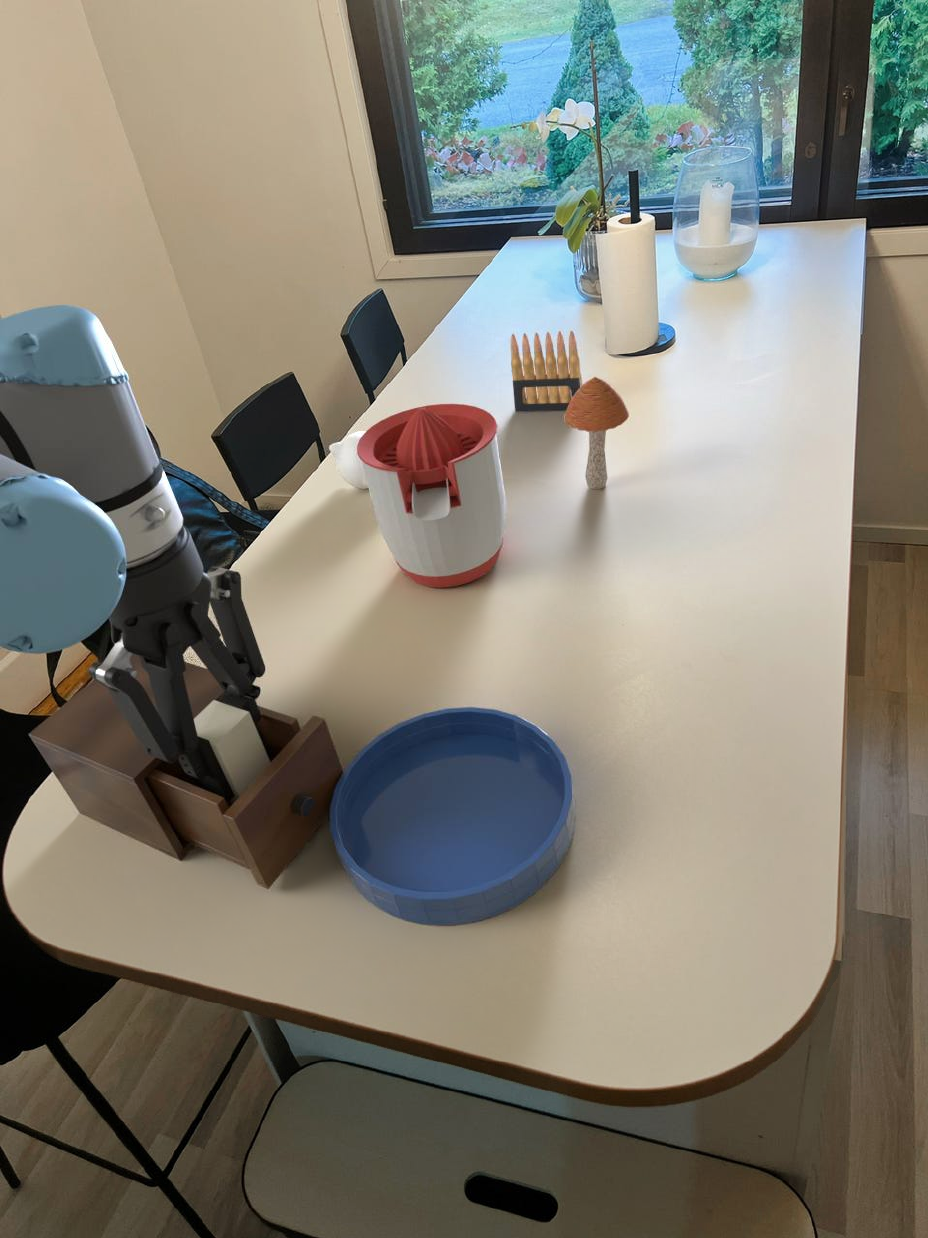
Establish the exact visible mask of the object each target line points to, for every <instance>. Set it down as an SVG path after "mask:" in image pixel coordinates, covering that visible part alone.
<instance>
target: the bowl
mask: <svg viewBox="0 0 928 1238" xmlns="http://www.w3.org/2000/svg"><path fill="white" fill-rule="evenodd" d="M575 806H576V805H575V793H574V784H573V777H572V773H571V770H570V768H569V765H568V762H567V759H566V756H565V754H564V753H563V751H561V749H560V747H559V746H558V745H557V744H556V742H555V741H554V739H553V738H552V737H550V736H549V735H548V734H547V733H546V732H545V731H544V730H542V729H541V728H540V727H538V726H537V724H534V723H532V722H530V721H528V720H526V719H524V718H523V717H520V716H519V715H516V714H512V713H509V712H506V711H502V710H498V709H494V708H485V707H477V706H476V707H475V706H474V707H473V706H466V707H464V706H463V707H448V708H443V709H442V708H441V709H438V710H433V711H429V712H424V713H421V714H419V715H416V716H414V717H410V718H408V719H406V720H404V721H401V722H398V723H397V724H395V725H393V726H391V727H389V728H388V729H386V730H385V731H383V732H381V733H379V734H378V735H377V736H375V737H374V738H373V739H372V740H371V741H370V742H368V743H367V744H366V745H365V746H364V747H362V748H361V749H360V750H359V751H358V752H357V753H356V755H355V756H354V757H353V758H352V759H351V760H350V762H349V763H348V764H347V765H346V767H345V768H344V769H343V774H342V775H341V777H340V779H339V781H338V783H337V785H336V787H335V790H334V794H333V798H332V802H331V806H330V814H329V831H330V834H331V837H332V840H333V843H334V846H335V849H336V852H337V854H338V857H339V859H340V862H341V864H342V868H343V869H344V872H345V874H346V875H347V877H348V879H349V881H350V882H351V884H352V885H353V887H354V888H355V889H356V891H357V892H358V893H359V894H360V895H361V896H362V897H363V898H364V899H365V900H366V901H367V902H368V903H370V904H371V905H373V906H374V907H376V908H377V909H378V910H381V911H382V912H384V913H386V914H387V915H390V916H392V917H395V918H398V919H400V920H403V921H406V922H410V923H414V924H420V925H427V926H439V927H441V926H457V925H458V926H459V925H464V924H465V925H466V924H472V923H476V922H480V921H482V920H486V919H490V918H493V917H495V916H497V915H501V914H503V913H505V912H508V911H509V910H510V909H512V908H515V907H516V906H518V905H521V903H523V902H525V901H526V900H527V899H529V898H530V897H532V896H533V895H534V894H536V892H538V891H539V890H540V889H541V888H542V887H543V886H544V885H545V884H547V882H548V881H549V880H550V879H551V878H552V876H554V874H556V872H557V871H558V869H559V867H560V866H561V864H562V863H563V862H564V860H565V858H566V855H567V853H568V851H569V848H570V847H571V843H572V839H573V836H574V833H575V826H576V808H575Z"/></svg>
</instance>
